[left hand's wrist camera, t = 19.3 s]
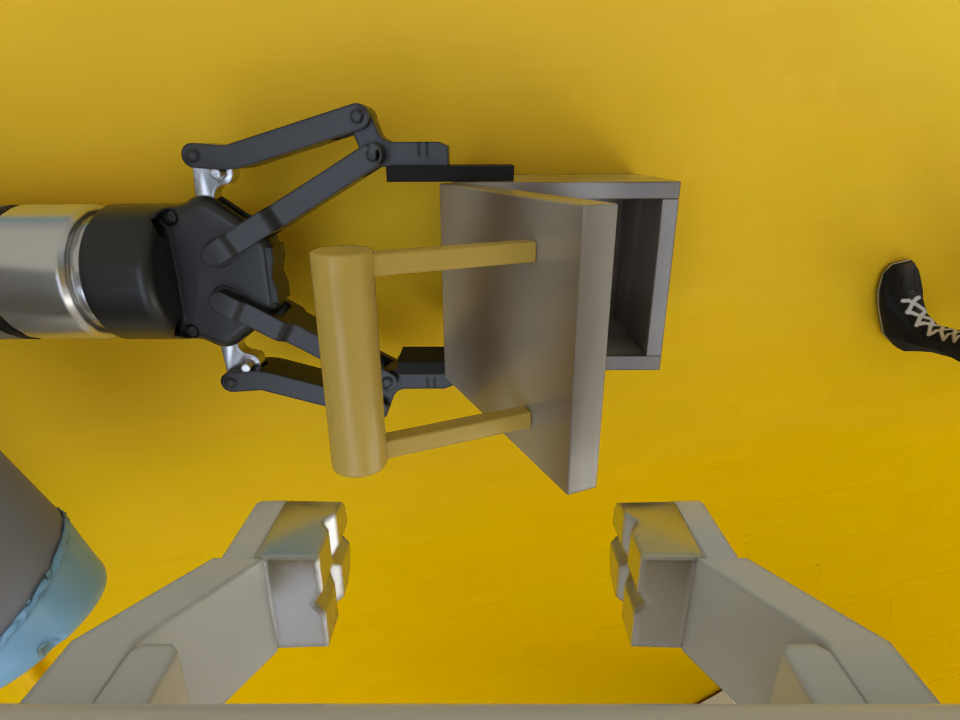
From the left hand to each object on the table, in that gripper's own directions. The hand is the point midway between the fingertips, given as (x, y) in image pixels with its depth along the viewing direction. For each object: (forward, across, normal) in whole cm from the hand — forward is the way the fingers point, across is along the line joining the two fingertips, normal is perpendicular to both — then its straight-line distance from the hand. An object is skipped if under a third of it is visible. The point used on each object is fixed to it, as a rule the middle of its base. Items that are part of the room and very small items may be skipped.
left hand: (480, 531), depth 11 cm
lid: (+15, +2, 0) cm, 15 cm away
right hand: (+23, +2, 0) cm, 23 cm away
